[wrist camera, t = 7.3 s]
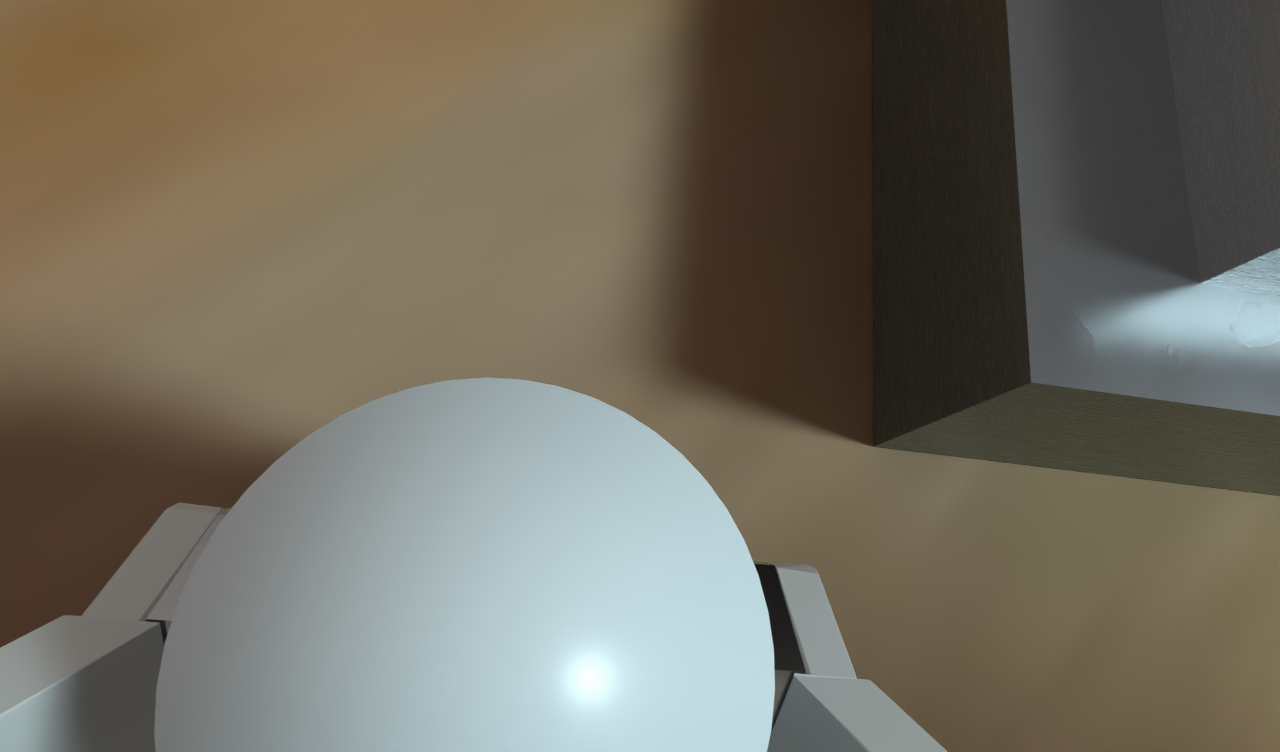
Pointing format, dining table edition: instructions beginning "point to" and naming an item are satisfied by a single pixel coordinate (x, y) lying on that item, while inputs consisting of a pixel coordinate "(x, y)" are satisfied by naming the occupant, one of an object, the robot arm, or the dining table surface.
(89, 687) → the robot arm
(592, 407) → the dome-capped cylinder
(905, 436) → the square socket base
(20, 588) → the dining table surface
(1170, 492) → the dining table surface
